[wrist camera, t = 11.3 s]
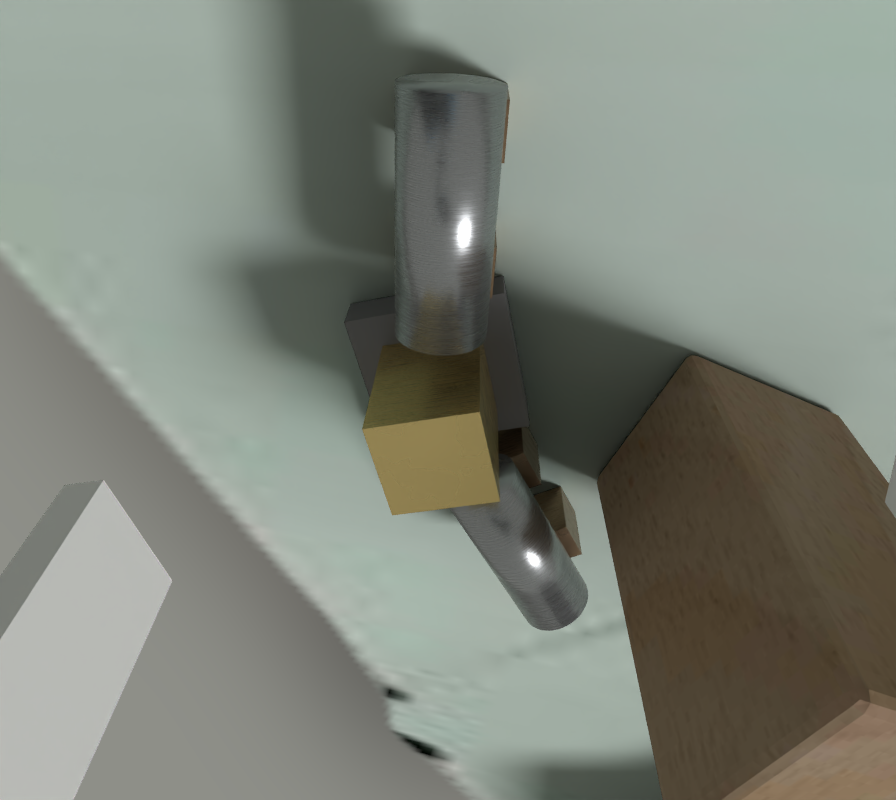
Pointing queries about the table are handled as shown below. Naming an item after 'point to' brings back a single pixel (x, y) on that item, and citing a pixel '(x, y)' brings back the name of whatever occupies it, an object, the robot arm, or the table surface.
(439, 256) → the shaft
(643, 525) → the wooden block
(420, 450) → the tan rectangular block
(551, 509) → the shaft
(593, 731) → the table surface
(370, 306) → the dark grey block
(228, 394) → the table surface
